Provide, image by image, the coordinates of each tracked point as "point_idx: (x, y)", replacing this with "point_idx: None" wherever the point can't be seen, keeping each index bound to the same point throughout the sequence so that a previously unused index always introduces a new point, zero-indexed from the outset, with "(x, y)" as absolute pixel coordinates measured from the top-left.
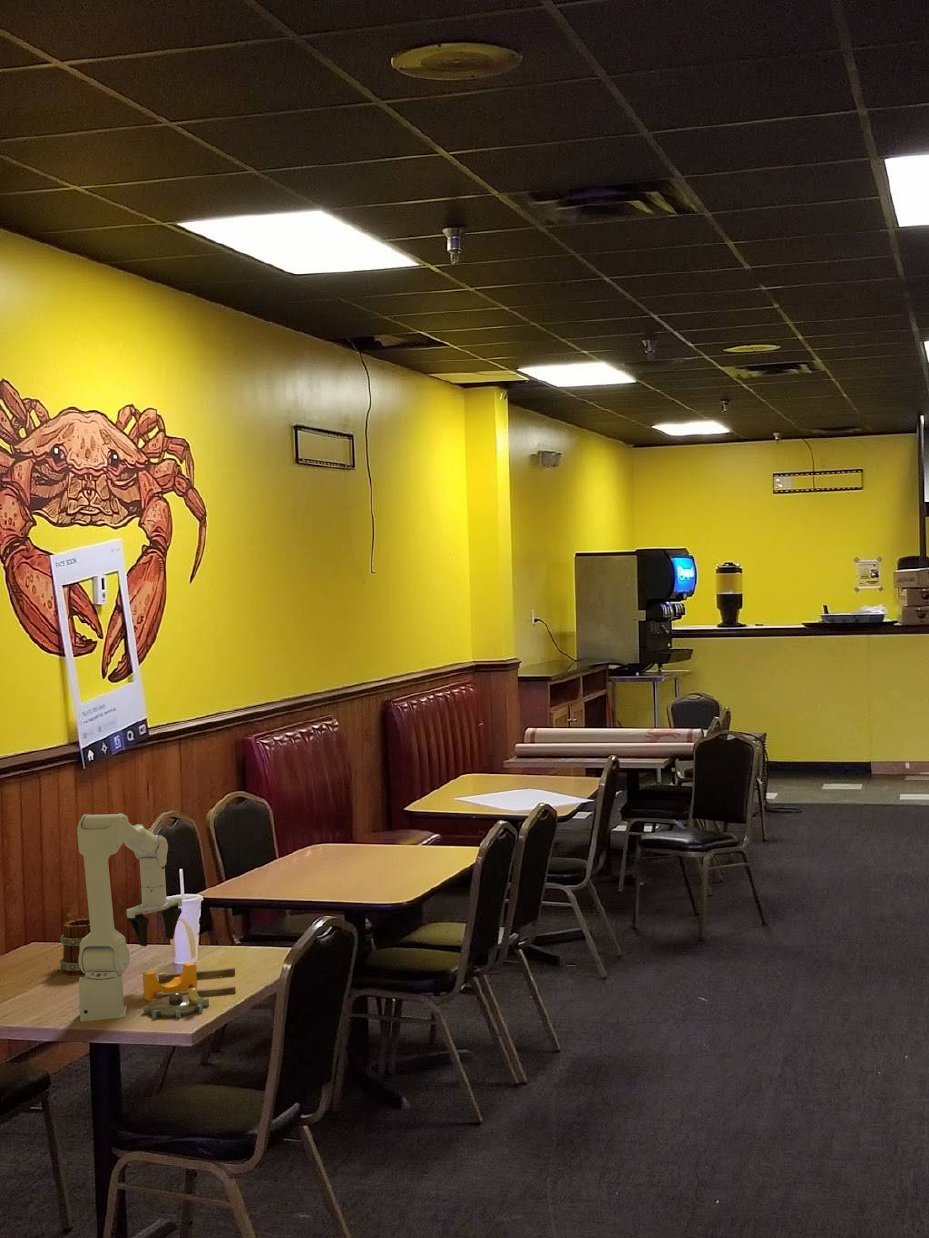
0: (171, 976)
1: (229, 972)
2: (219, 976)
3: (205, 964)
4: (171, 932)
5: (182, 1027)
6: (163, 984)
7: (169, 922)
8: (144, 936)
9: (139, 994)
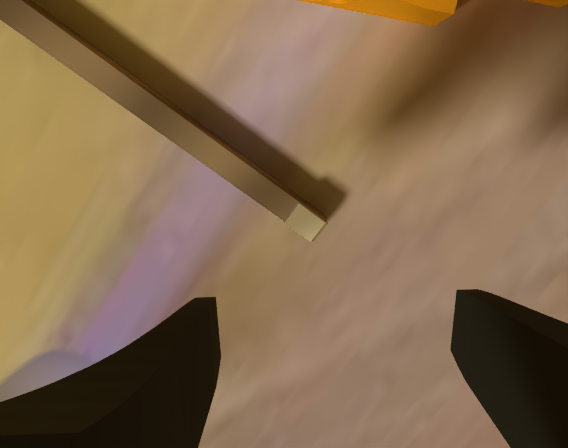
0: (278, 184)
1: (27, 1)
2: (84, 40)
3: (27, 288)
4: (201, 322)
5: None
6: (453, 9)
7: (172, 420)
8: (545, 316)
9: (500, 118)
